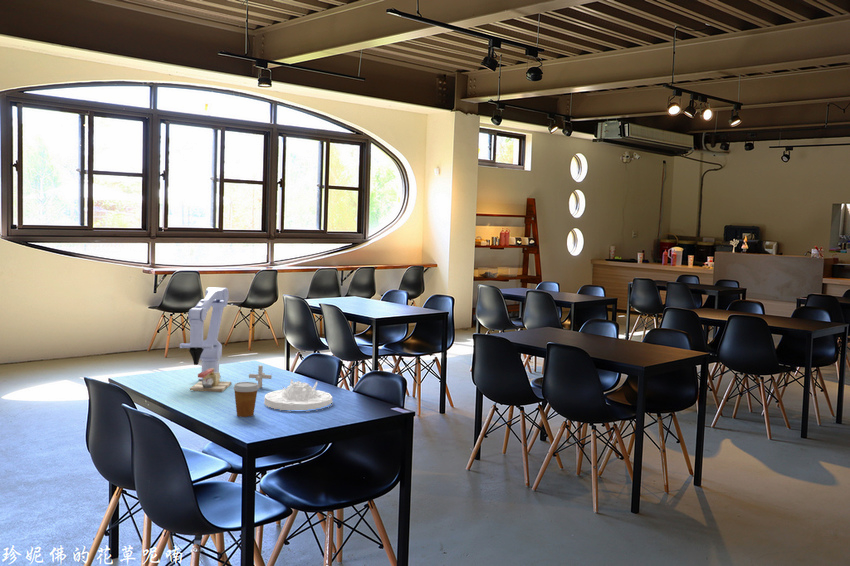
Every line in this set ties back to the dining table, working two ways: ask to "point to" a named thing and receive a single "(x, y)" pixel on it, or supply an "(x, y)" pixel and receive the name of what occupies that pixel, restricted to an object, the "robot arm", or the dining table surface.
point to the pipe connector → (260, 376)
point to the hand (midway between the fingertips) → (196, 364)
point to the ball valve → (211, 380)
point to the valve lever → (205, 373)
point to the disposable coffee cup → (245, 398)
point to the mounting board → (218, 388)
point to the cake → (297, 397)
